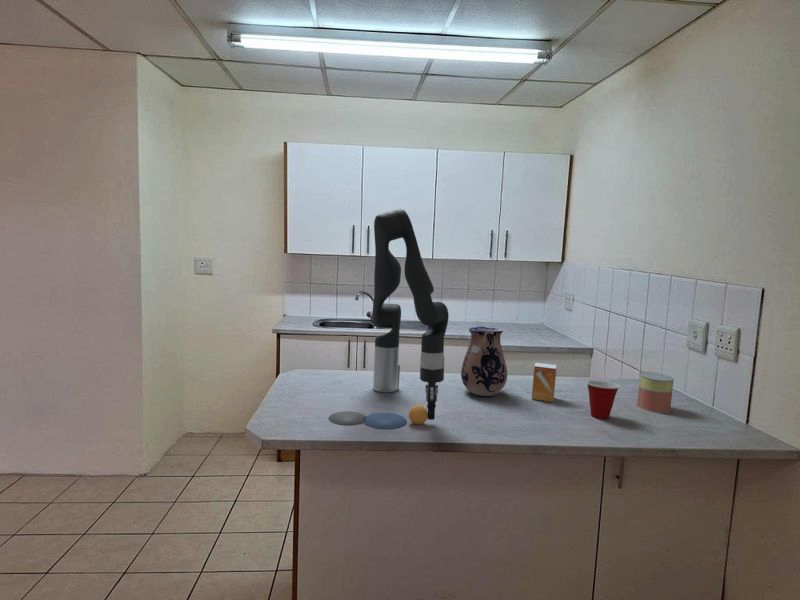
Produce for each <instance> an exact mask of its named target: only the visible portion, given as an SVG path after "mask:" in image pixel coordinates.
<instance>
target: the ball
mask: <svg viewBox="0 0 800 600" xmlns="http://www.w3.org/2000/svg"><path fill="white" fill-rule="evenodd" d="M408 412H409V413H408V417H409V420H410V422H412V423H413V424H414V425H423V424H424V423H426V422H427V420H428V409H427V408H426V407H424V406H423V405H421V404H418V405H413V406H412V407H411V408H410V409H409V411H408Z"/></svg>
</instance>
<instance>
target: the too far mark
mask: <svg viewBox="0 0 800 600" xmlns="http://www.w3.org/2000/svg"><path fill="white" fill-rule="evenodd" d="M365 416H366V415H365V414H364V413H361V412H357V411H345V410H344V411H337V412H334V413H332V414H330V415H329V417H328V420H329V422H331V423H333V424H335V425H340V426H354V425H355V424H356V425H360V424H363V423H364V421H365V420H366V419H363V418H366V417H365ZM363 420H364V421H363Z"/></svg>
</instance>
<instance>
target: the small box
mask: <svg viewBox="0 0 800 600" xmlns="http://www.w3.org/2000/svg"><path fill="white" fill-rule="evenodd" d="M557 367H558V366H557V364H549V363H542V362H541V363H540V362H535V363H534V367H533V368H534V369H533V377H532V391H531V399H532V400H535V399H536V400H535V401H542V400H544V402H549V401H551V403H553V402H554V399H555V390H556V389H555V388H556V377H557V369H558V368H557Z"/></svg>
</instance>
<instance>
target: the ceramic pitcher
mask: <svg viewBox="0 0 800 600" xmlns="http://www.w3.org/2000/svg"><path fill="white" fill-rule="evenodd" d="M468 331H469V332H470V342H469V345H468V347H467V350H466V352H465V355H464V358H463V362H462V364H461V370H460V371H461V372H460V373H461V374H460V377H461V380H462V384H463V385H464V387H465V388H466V389H467V390H468V392H470V393H471V394H473V395H476V396H481V397H491V396H496V395H497V394H499V393H500V392H501V390H503V389H504V387H505V385H506V383H507V380H508V368H507V364H506V359H505V355H504V351H503V347H502V343H501V335H502V334H503V332H504V330H503V329H499V328H494V327H487V326H483V325H480V326H475V327H473V326H472V327H469V328H468Z"/></svg>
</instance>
